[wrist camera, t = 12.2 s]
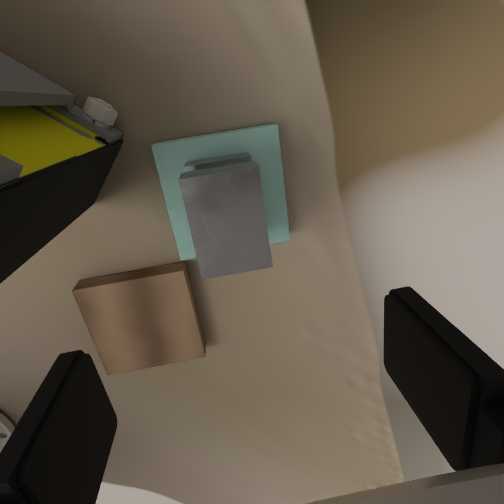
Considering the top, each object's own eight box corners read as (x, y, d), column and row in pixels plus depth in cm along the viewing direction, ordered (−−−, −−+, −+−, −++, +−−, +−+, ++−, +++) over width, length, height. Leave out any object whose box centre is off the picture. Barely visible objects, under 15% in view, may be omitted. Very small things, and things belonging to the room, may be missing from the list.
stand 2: (182, 251, 32) (180, 260, 31) (154, 142, 28) (150, 145, 26) (286, 233, 33) (290, 241, 31) (273, 123, 29) (277, 124, 27)
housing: (185, 161, 27) (178, 179, 21) (247, 151, 27) (258, 166, 21) (203, 242, 30) (201, 279, 24) (259, 232, 30) (272, 266, 24)
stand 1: (112, 361, 36) (107, 375, 35) (79, 280, 32) (72, 290, 31) (205, 344, 37) (205, 356, 35) (184, 261, 33) (183, 270, 31)
